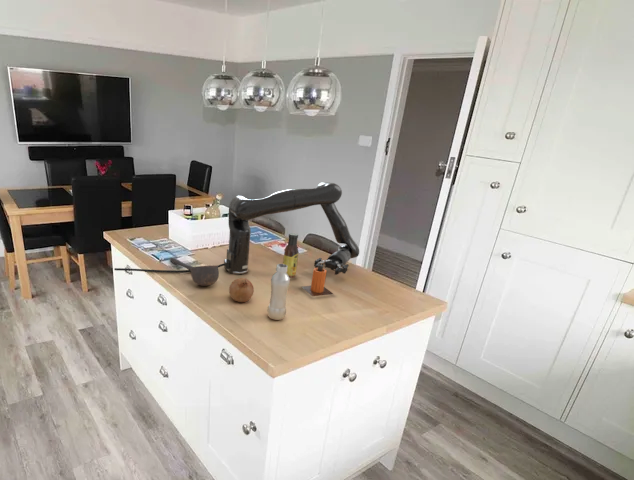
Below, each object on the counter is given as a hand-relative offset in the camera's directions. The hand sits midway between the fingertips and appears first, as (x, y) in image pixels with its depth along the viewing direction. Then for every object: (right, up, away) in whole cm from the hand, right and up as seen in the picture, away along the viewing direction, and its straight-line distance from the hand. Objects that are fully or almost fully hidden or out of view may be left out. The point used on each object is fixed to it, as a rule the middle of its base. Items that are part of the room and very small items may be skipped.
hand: (326, 270), depth 177 cm
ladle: (-59, -2, +5) cm, 59 cm away
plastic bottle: (-23, -19, -28) cm, 41 cm away
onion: (-36, -13, -16) cm, 42 cm away
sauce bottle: (-15, -3, +10) cm, 18 cm away
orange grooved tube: (-5, -9, -4) cm, 11 cm away
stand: (-5, -10, -4) cm, 11 cm away
